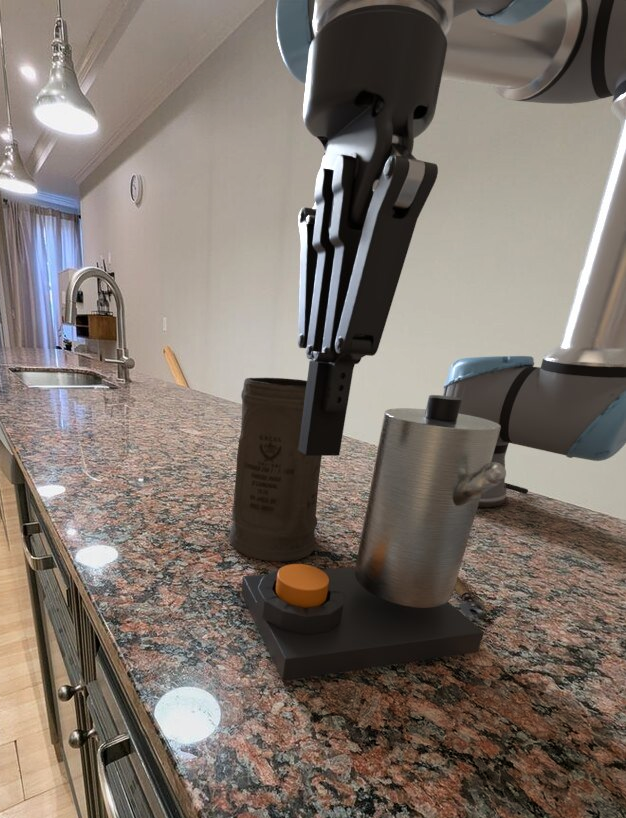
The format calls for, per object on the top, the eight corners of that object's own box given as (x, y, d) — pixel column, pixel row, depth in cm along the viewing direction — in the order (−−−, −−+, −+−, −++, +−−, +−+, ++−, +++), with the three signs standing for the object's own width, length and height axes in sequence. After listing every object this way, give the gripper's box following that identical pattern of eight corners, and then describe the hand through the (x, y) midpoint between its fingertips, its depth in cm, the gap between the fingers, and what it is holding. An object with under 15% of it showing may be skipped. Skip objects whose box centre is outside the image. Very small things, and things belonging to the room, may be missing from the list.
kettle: (398, 543, 49) (433, 387, 42) (500, 623, 36) (572, 416, 30) (326, 548, 46) (352, 383, 40) (407, 635, 34) (464, 413, 27)
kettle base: (398, 580, 49) (405, 548, 48) (477, 652, 39) (490, 614, 37) (239, 595, 44) (242, 559, 43) (280, 682, 34) (286, 639, 32)
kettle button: (313, 578, 41) (316, 561, 40) (335, 605, 37) (338, 587, 37) (268, 582, 40) (270, 565, 39) (286, 610, 36) (288, 592, 35)
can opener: (442, 576, 51) (444, 567, 51) (463, 578, 51) (466, 570, 50) (466, 623, 43) (469, 613, 42) (491, 627, 43) (495, 617, 42)
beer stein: (311, 572, 49) (339, 385, 43) (218, 557, 51) (231, 375, 45) (317, 527, 64) (338, 382, 57) (243, 516, 65) (256, 374, 59)
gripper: (275, 81, 30) (247, 432, 38) (381, -73, 18) (306, 481, 27) (375, 105, 32) (326, 434, 40) (528, -19, 20) (413, 479, 29)
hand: (318, 452), depth 34 cm, fingers closed
